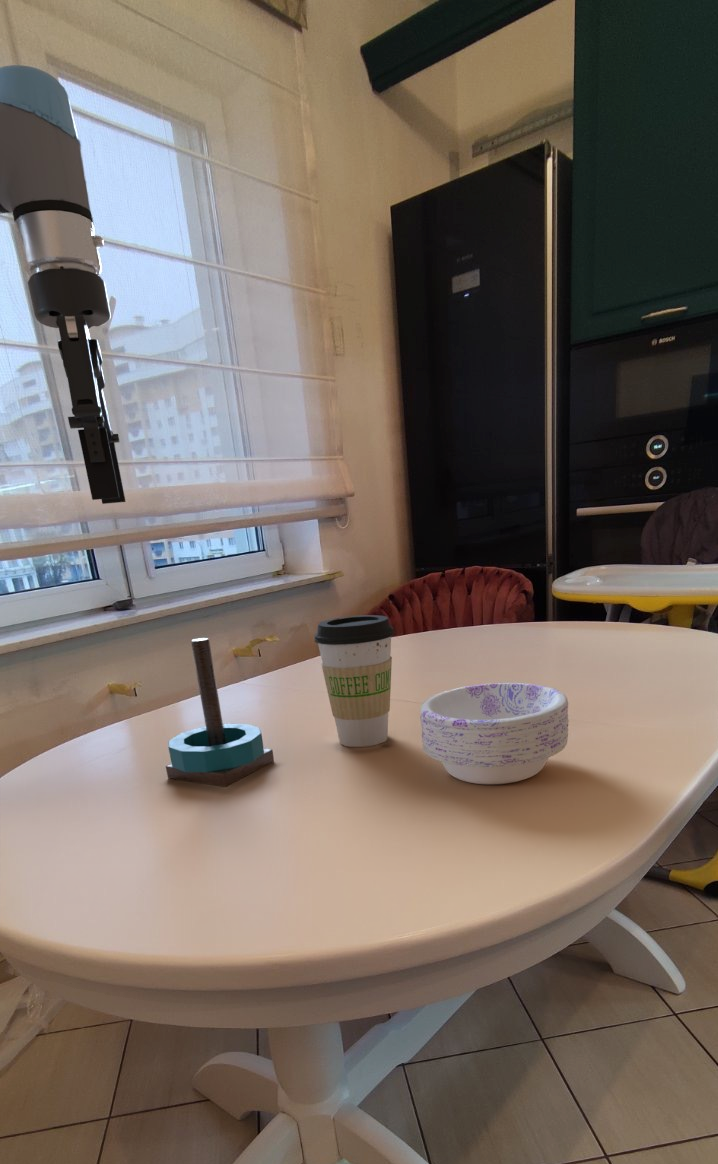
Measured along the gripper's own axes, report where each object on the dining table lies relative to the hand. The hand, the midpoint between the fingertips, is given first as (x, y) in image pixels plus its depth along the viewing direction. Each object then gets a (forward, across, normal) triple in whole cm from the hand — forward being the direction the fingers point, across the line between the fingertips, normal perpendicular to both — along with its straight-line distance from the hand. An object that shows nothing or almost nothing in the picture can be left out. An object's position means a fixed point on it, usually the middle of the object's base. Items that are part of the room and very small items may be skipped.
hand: (110, 501), depth 82 cm
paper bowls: (+31, -24, -35) cm, 53 cm away
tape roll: (+29, -8, -7) cm, 31 cm away
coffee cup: (+31, -6, -25) cm, 40 cm away
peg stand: (+31, -8, -7) cm, 33 cm away
